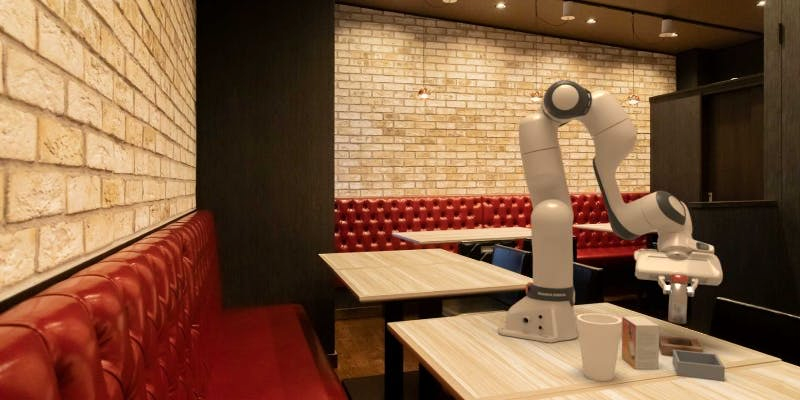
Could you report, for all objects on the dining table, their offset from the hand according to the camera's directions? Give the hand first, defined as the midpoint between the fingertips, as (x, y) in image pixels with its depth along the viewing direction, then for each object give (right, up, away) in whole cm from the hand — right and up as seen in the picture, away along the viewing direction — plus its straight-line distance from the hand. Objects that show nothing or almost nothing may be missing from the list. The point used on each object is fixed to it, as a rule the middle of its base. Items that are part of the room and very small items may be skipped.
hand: (678, 293), depth 132 cm
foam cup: (-26, -16, -15) cm, 34 cm away
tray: (-3, -16, -13) cm, 20 cm away
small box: (-13, -16, -7) cm, 22 cm away
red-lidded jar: (0, -7, +1) cm, 7 cm away
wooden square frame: (+1, -15, +1) cm, 15 cm away
